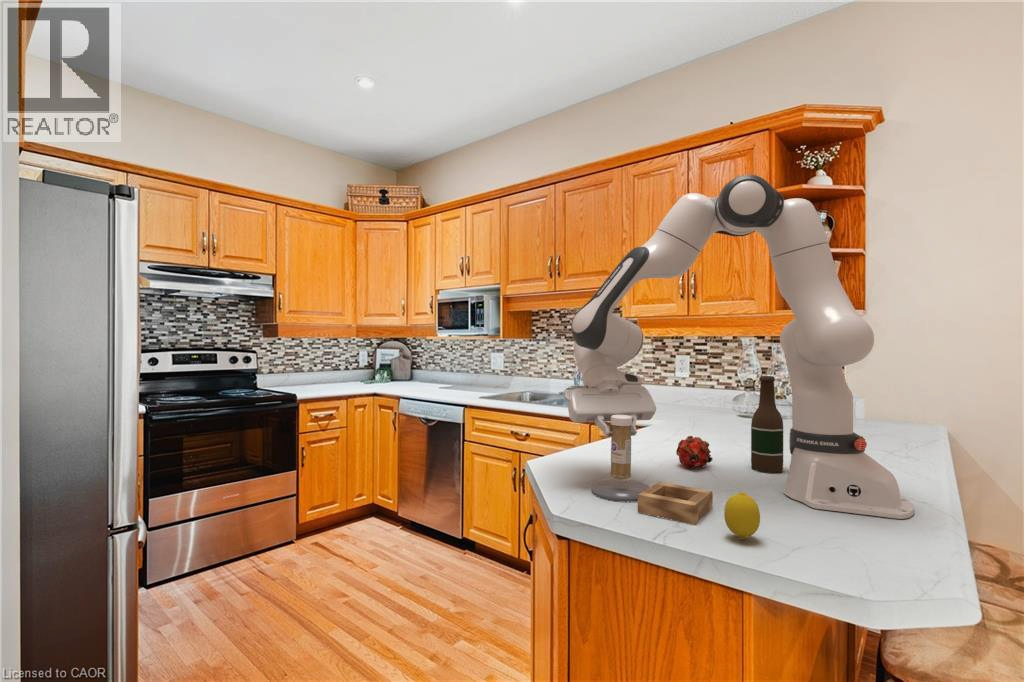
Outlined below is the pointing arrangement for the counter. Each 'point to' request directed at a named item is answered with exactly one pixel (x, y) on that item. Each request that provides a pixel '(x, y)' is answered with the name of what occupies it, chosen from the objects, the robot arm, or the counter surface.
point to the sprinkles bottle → (621, 446)
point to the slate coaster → (618, 490)
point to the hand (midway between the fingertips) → (621, 434)
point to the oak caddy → (675, 502)
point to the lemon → (742, 515)
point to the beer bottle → (767, 431)
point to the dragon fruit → (693, 452)
